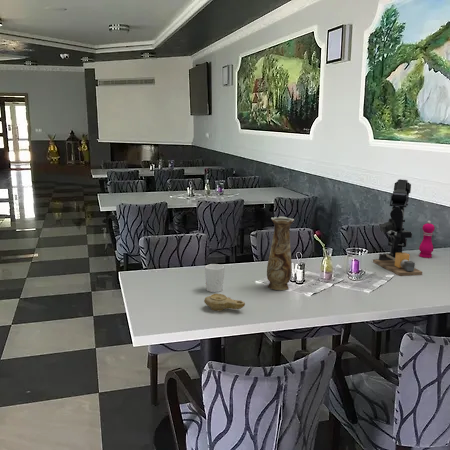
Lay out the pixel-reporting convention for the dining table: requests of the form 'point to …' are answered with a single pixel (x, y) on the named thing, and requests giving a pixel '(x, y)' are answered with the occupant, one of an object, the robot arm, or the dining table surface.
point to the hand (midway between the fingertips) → (394, 248)
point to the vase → (280, 255)
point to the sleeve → (401, 258)
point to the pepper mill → (427, 241)
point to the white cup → (214, 277)
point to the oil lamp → (223, 302)
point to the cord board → (389, 264)
